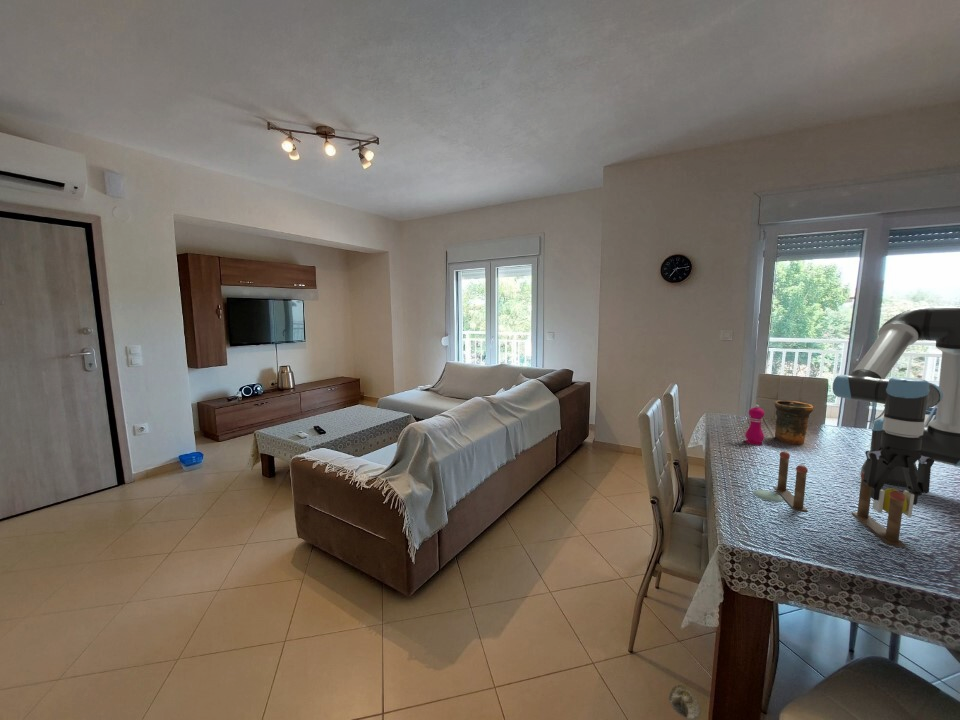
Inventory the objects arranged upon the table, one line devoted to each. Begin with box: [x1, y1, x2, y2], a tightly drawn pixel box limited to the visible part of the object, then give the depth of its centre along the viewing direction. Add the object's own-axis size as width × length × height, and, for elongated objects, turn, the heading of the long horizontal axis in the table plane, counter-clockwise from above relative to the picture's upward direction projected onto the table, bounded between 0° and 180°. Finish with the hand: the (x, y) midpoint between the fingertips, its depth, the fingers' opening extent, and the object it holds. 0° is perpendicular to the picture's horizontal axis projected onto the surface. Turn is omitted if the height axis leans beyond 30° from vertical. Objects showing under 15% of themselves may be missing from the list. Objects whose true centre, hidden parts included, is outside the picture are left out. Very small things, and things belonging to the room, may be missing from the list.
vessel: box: [774, 400, 814, 446], centre depth 180 cm, size 14×14×20 cm
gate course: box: [773, 451, 906, 548], centre depth 116 cm, size 20×29×15 cm
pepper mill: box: [745, 404, 765, 446], centre depth 178 cm, size 7×7×20 cm
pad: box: [753, 489, 784, 503], centre depth 127 cm, size 8×8×1 cm
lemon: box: [882, 487, 907, 514], centre depth 106 cm, size 6×6×8 cm
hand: (891, 512), depth 106 cm, fingers closed on lemon, 5 cm apart
